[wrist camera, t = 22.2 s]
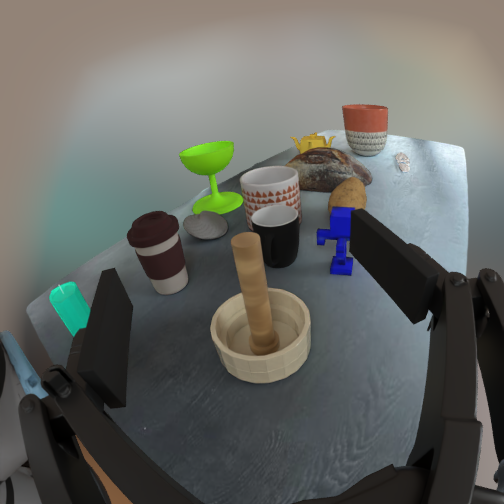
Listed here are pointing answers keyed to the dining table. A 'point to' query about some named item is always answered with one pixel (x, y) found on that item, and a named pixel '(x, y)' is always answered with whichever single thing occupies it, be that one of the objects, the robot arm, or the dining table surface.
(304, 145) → the teapot
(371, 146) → the planter
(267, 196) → the white patterned cup
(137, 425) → the dining table surface
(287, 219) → the mug
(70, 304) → the candle
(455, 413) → the robot arm
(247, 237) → the wooden pestle
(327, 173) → the bread
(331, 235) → the figurine
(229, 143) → the wineglass
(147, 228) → the coffee cup
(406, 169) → the white lumpy piece
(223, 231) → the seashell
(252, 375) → the bowl
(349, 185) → the potato
